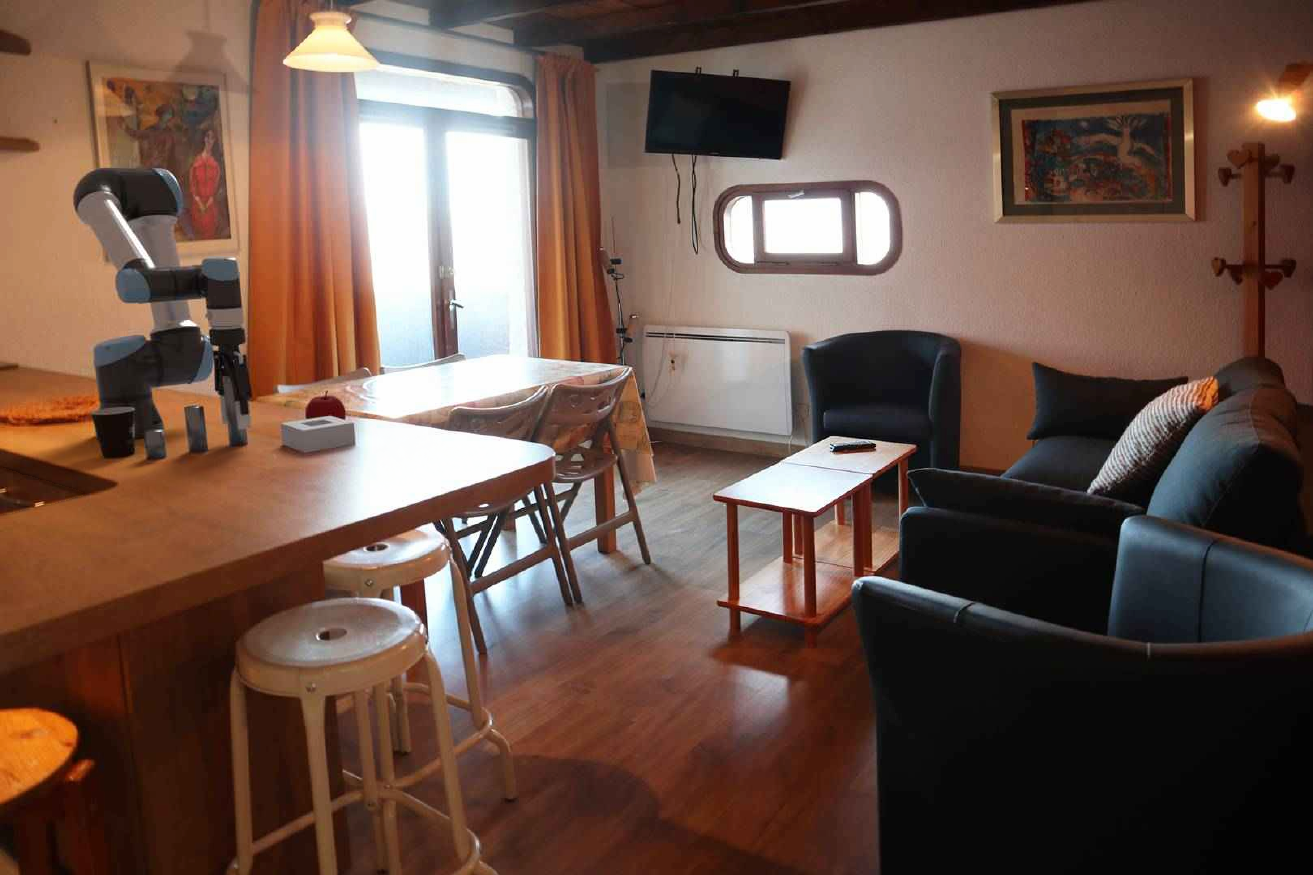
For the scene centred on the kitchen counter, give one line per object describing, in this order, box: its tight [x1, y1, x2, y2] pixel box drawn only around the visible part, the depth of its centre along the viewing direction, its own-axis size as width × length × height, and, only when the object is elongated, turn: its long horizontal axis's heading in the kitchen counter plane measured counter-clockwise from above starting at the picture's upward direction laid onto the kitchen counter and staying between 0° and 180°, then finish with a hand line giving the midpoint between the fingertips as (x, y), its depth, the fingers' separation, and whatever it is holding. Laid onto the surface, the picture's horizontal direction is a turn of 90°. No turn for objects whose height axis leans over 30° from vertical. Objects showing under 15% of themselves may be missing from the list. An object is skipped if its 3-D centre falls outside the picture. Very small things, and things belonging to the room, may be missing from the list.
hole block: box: [280, 416, 357, 454], centre depth 245 cm, size 12×12×5 cm
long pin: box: [222, 375, 249, 447], centre depth 245 cm, size 4×4×16 cm
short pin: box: [143, 429, 168, 461], centre depth 235 cm, size 4×4×6 cm
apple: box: [305, 390, 347, 420], centre depth 259 cm, size 9×9×10 cm
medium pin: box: [183, 404, 209, 454], centre depth 240 cm, size 4×4×10 cm
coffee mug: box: [90, 407, 136, 459], centre depth 239 cm, size 12×9×10 cm
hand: (236, 425), depth 246 cm, fingers open, 9 cm apart
